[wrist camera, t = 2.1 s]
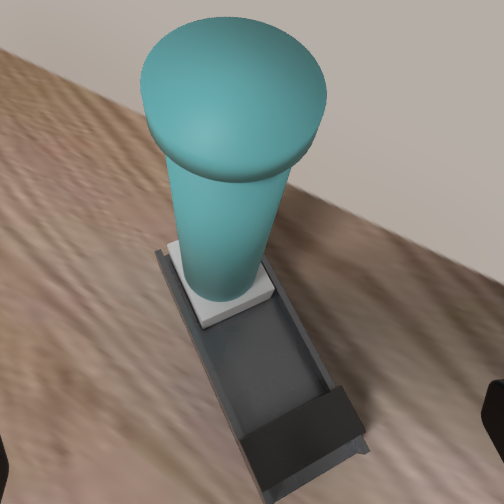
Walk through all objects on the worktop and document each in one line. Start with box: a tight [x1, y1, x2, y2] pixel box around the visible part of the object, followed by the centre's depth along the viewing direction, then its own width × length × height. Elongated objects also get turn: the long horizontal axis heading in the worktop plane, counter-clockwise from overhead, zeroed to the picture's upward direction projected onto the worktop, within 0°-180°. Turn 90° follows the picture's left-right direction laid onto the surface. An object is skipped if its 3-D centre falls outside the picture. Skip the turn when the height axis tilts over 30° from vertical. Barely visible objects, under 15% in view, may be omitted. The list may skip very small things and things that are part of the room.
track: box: [155, 249, 370, 504], centre depth 19 cm, size 12×5×3 cm, turn 26°
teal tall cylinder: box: [140, 17, 327, 329], centre depth 15 cm, size 4×4×13 cm
